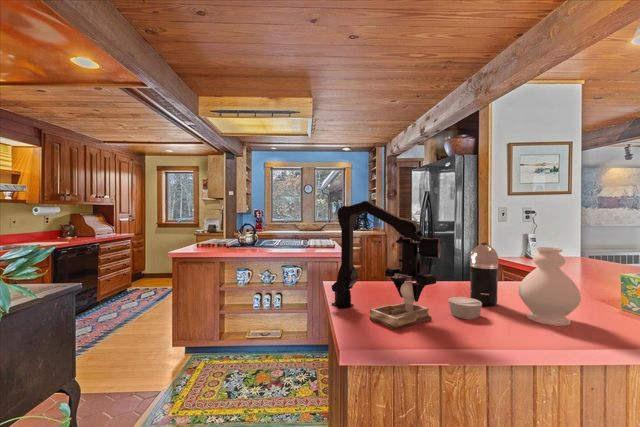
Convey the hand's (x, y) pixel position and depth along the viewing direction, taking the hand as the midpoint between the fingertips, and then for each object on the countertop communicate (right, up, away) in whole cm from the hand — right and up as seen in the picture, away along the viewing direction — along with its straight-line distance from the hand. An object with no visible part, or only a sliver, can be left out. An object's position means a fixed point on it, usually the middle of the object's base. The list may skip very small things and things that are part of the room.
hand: (409, 299), depth 115 cm
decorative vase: (+48, -7, -2) cm, 49 cm away
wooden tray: (-4, -6, -2) cm, 8 cm away
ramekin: (+21, -7, +2) cm, 22 cm away
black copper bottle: (+35, -6, +17) cm, 40 cm away
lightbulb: (0, -5, 0) cm, 5 cm away
